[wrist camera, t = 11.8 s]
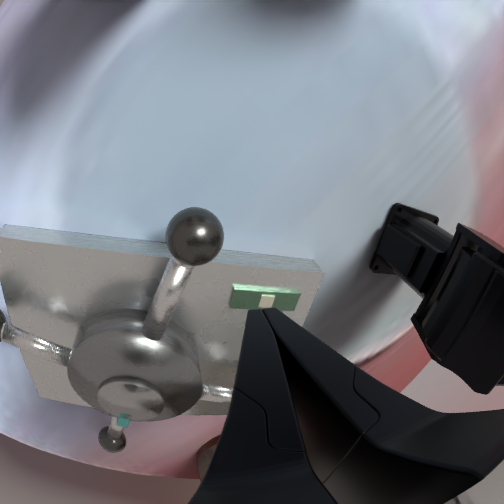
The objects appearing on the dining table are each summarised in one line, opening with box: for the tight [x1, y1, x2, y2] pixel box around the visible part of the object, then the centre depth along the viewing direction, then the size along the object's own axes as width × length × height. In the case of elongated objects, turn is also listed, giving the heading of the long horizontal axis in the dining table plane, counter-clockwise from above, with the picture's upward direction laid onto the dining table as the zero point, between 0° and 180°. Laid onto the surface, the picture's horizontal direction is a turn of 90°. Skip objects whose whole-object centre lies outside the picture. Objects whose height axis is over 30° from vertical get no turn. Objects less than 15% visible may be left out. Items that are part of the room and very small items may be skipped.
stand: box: [0, 224, 324, 415], centre depth 22 cm, size 24×18×2 cm
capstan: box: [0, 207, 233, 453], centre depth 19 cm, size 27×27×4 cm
